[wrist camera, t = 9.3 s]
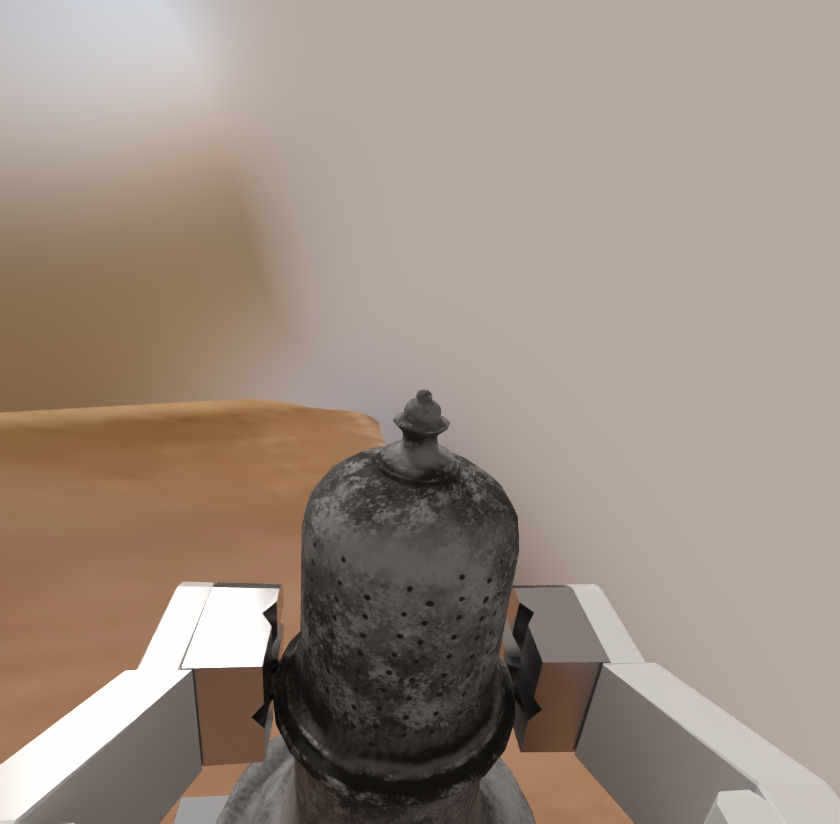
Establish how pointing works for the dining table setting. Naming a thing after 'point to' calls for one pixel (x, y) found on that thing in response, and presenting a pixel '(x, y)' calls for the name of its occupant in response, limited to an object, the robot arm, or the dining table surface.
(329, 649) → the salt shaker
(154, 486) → the dining table surface
